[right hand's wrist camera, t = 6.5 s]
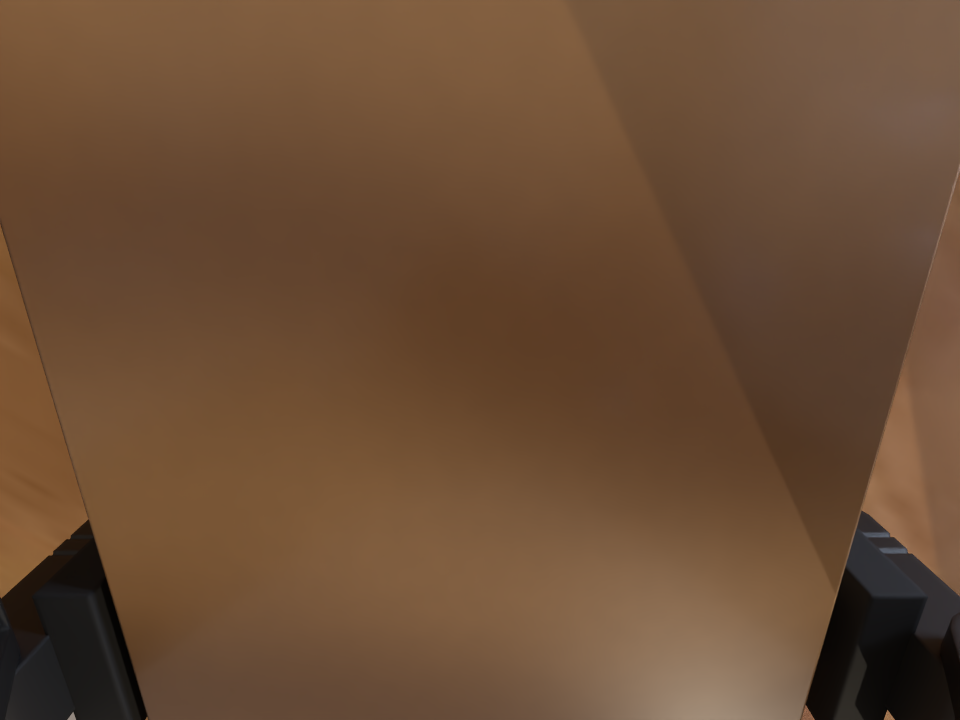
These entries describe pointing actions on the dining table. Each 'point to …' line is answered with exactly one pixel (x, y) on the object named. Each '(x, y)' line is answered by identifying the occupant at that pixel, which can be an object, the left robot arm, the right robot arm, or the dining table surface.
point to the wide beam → (475, 335)
